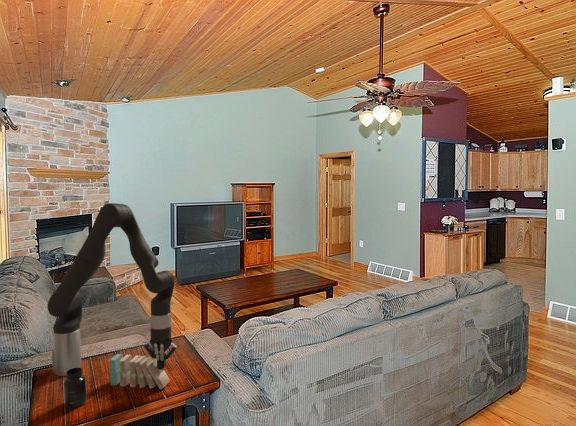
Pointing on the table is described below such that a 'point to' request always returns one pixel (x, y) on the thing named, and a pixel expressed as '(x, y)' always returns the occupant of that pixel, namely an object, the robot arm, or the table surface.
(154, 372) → the domino
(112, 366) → the domino
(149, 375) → the domino
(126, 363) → the domino
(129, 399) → the table surface
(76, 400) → the supplement bottle
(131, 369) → the domino
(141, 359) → the domino
